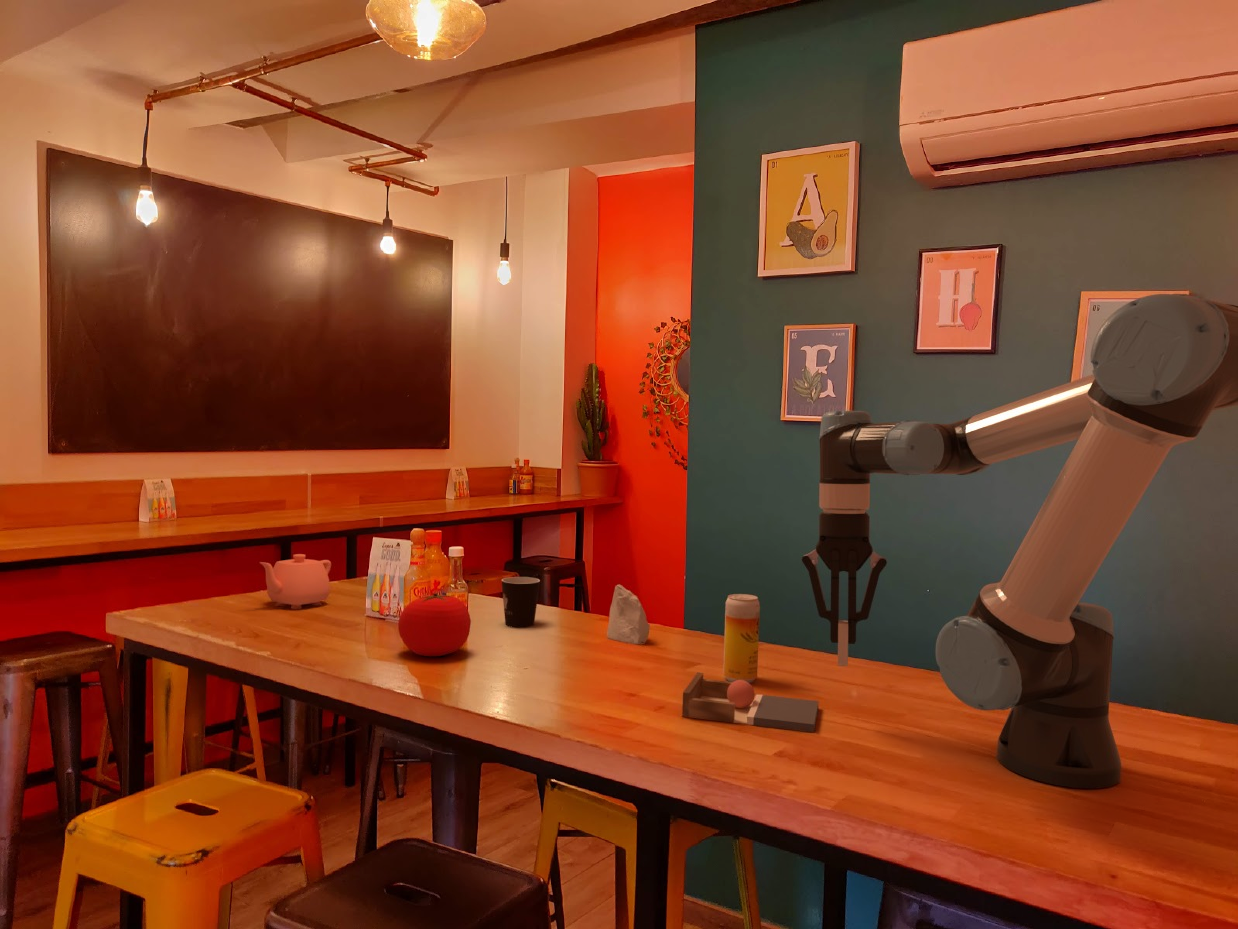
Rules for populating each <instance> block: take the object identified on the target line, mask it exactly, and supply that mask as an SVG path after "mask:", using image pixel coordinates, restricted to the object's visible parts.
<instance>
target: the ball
mask: <svg viewBox="0 0 1238 929" xmlns="http://www.w3.org/2000/svg"><path fill="white" fill-rule="evenodd" d="M755 697H756V695H755V689H754V687H753V686H752V684H750V683H748V682H746V681H744V680H737V681H734V682H733V683H731V684H730V686H729V687H728V690H727V698H728V700H729V702H733V703H735V707H737V708H746V707H748V706H749V705H751V703H752V702H753V700H754V699H755Z"/></svg>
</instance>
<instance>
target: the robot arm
mask: <svg viewBox="0 0 1238 929" xmlns="http://www.w3.org/2000/svg"><path fill="white" fill-rule="evenodd" d="M1090 363H1091V364H1092V374H1090V375H1087V376H1084V377H1081V378H1079V379H1075V380H1073V381H1069V382H1067V383H1064V384H1062V385H1058V386H1055V387H1052V388H1050V389H1047V390H1044V391H1041V392H1038V393H1036V394H1032V395H1029V396H1026V397H1024V398H1021V399H1018V400H1016V401H1013V402H1010V403H1006V404H1004V405H1001V406H998V407H995V408H993V409H990V410H987V411H984V412H981V413H979V414H976V415H973V416H970V417H967V418H964V419H962V420H958V421H956V422H952V423H931V422H928V421H919V420H903V421H894V422H893V421H892V422H880V423H879V422H878V423H873V422H871V414H870V413H869V412H867V411H864V410H831V411H827V412H825V413H823V415H821V420H820V427H819V428H820V430H819V437H818V442H819V491H818V492H819V494H818V495H819V500H818V502H819V505H818V506H819V508H820V509H822V512H820V514H818V515H819V516H818V517H819V519H818V520H819V522H818V541H817V543H816V545H815V549H814V550H812V551H811V552H809V553H806V554H803V556H802V558H801V561H802V564H803V565H804V567H805V568H806V569H807V571H808V575H809V579H810V584H811V587H812V592H813V596H814V602H815V604H816V608H817V613H818V616H819V617H820V618H821V619H823V618H824V619H826V620H828V621H829V624H830V629H829V630H830V632H829V633H830V634H829V635H830V642H831V643H833V644H837V667H849V645H855V644H856V641H857V624H858V622H861V621H863V620H864V621H865V620H867V619H869V615H870V612H871V608H872V604H873V601H874V597H875V594H876V589H877V587H878V586H877V585H878V581H879V578H880V574H881V573H882V571H883V569H884V568H885V567H886V566H887V563H888V562H887V559H886V558H885V557H884V556H880V555H879V554H878V553H876V552H875V551H873V550H874V549H873V546H872V544H871V542H870V522H871V521H870V515H869V513H867V510H869V509H870V505H871V504H870V502H871V501H870V500H871V493H870V492H871V491H870V489H871V484H870V482H871V474H887V475H903V476H910V475H911V476H919V475H933V474H935V475H958V476H965V475H971V474H977V473H980V472H983V471H984V470H986V469H987V468H988V467H989V466H991V465H992V464H995V463H999V462H1002V461H1006V460H1009V459H1012V458H1015V457H1019V456H1023V455H1026V454H1029V453H1034V452H1037V451H1041V450H1044V449H1047V448H1050V447H1051V448H1052V447H1054V446H1057V445H1061V444H1064V443H1069V442H1071V441H1075V440H1077V442H1076V444H1075V445H1074V447H1073V449H1072V451H1071V453H1070V454H1069V456H1068V458H1067V460H1066V462H1065V464H1064V465H1063V467H1062V469H1061V471H1060V473H1059V474H1058V476H1057V478H1056V479H1055V482H1054V484H1053V485H1052V487H1051V489H1050V491H1049V492H1048V494H1047V496H1046V497H1045V500H1044V501H1043V504H1042V506H1041V507H1040V509H1039V511H1038V513H1037V514H1036V517H1035V518H1034V519H1033V522H1032V524H1031V525H1030V527H1029V529H1028V531H1027V533H1026V535H1025V536H1024V538H1023V540H1022V542H1021V544H1020V545H1019V548H1017V551H1016V553H1015V554H1014V556H1013V558H1012V560H1011V562H1010V564H1009V566H1008V568H1007V569H1006V571H1005V573H1004V575H1003V577H1002V578H1001V580H1000V581H999V582H995V583H989V584H986V585H984V586H983V587H982V588H981V590H980V591H979V593H978V595H977V596H976V599H975V600H974V602H973V604H972V606H971V608H970V610H969V612H968V614H967V615H963V616H961V615H960V616H957V617H955V618H953V619H951V620H950V621H949V622H947V623H945V625H944V626H943V627H942V628H941V630H940V631H939V633H938V634H937V639H936V642H935V661H936V664H937V666H938V667H939V674H940V676H941V678H942V680H943V682H944V684H945V686H946V687H947V688H948V689H949V691H950V692H951V693H952V694H953V695H954V696H955V698H957V699H958V700H959V701H961V702H962V703H963V704H965V705H966V706H969V707H971V708H973V709H976V710H980V711H987V712H988V711H996V710H997V711H1006V710H1009V709H1010V710H1009V713H1008V716H1007V717H1006V721H1005V722H1004V724H1003V726H1002V729H1001V732H1000V734H999V736H998V739H997V746H996V759H997V761H998V762H999V763H1000V765H1002V766H1003V767H1005V768H1006V769H1008V770H1010V771H1011V772H1014V773H1016V774H1018V775H1020V776H1022V777H1025V778H1028V779H1030V780H1031V779H1032V780H1035V781H1038V782H1041V783H1046V784H1049V785H1053V786H1054V785H1055V786H1059V787H1067V788H1075V789H1103V788H1104V789H1105V788H1109V787H1112V786H1113V787H1114V786H1115V785H1117V784H1118V783H1120V781H1121V779H1122V778H1121V777H1122V776H1121V775H1122V760H1121V757H1120V754H1119V750H1118V747H1117V743H1116V741H1115V736H1114V733H1113V730H1112V726H1111V724H1110V723H1111V722H1110V718H1109V715H1110V714H1109V713H1110V712H1109V710H1110V699H1111V698H1110V696H1111V682H1112V681H1111V678H1112V665H1113V664H1112V663H1113V662H1112V661H1113V646H1114V639H1115V633H1114V619H1113V615H1112V613H1111V611H1110V610H1108V609H1107V608H1105V607H1104V606H1101V605H1097V604H1093V603H1089V602H1088V603H1087V602H1082V601H1080V600H1081V599H1082V597H1083V595H1084V593H1085V592H1086V590H1087V589H1088V587H1089V585H1090V583H1091V582H1092V580H1093V579H1094V577H1095V575H1096V574H1097V572H1098V570H1099V569H1100V567H1101V565H1102V563H1103V562H1104V560H1105V559H1106V557H1107V556H1108V553H1109V552H1110V551H1111V549H1112V547H1113V545H1114V543H1115V542H1116V540H1118V537H1119V535H1120V534H1121V532H1122V530H1123V528H1124V527H1125V526H1126V523H1127V522H1128V520H1129V519H1130V518H1131V515H1132V514H1133V512H1134V510H1135V509H1136V507H1137V505H1138V503H1139V502H1140V500H1141V499H1142V497H1143V495H1144V493H1145V492H1146V490H1147V489H1148V487H1149V485H1150V484H1151V482H1152V481H1153V479H1154V477H1155V475H1156V473H1157V472H1158V470H1159V469H1160V467H1161V465H1162V464H1163V462H1164V460H1165V459H1166V457H1167V455H1168V453H1169V452H1170V450H1171V449H1172V447H1174V446H1176V445H1179V444H1182V443H1186V442H1189V441H1193V440H1195V439H1196V438H1197V436H1198V435H1199V433H1200V432H1201V430H1202V428H1203V426H1204V425H1205V423H1206V421H1207V420H1208V418H1209V416H1210V415H1211V413H1212V412H1213V411H1215V410H1221V409H1226V408H1227V409H1228V408H1232V407H1235V406H1238V305H1234V304H1228V303H1223V302H1218V301H1214V300H1209V299H1206V298H1202V297H1200V296H1199V297H1198V296H1194V295H1189V294H1188V293H1155V294H1151V295H1150V294H1149V295H1145V296H1142V297H1138V298H1136V299H1134V300H1132V301H1129V302H1128V303H1126V304H1124V305H1122V306H1121V307H1119V308H1118V309H1116V311H1114V312H1113V313H1112V314H1111V315H1109V317H1107V319H1105V321H1104V323H1102V325H1101V326H1100V327H1099V329H1098V331H1097V333H1096V335H1095V337H1094V339H1093V342H1092V344H1091V350H1090ZM818 557H820V559H821V561H823V564H825V567H827V569H828V570H830V610H829V609H827V604H826V600H825V597H824V593H823V589H822V584H821V580H820V575H819V572H818V568H817V565H818V563H819V560H818ZM869 559H870V561H869V565H870V567H871V571H870V573H869V578H868V582H867V584H866V587H865V588H866V589H865V592H864V595H863V596H864V597H863V600H862V604H861V608H860V610H859V611H857V572H859V570H860V569H862V567H863V566H864V564H865V563H866V562H867V561H868V560H869ZM841 572H845V573H847V576H848V578H847V579H848V580H847V581H848V582H847V620H839V619H840V573H841Z"/></svg>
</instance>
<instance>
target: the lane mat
mask: <svg viewBox="0 0 1238 929" xmlns="http://www.w3.org/2000/svg"><path fill="white" fill-rule="evenodd" d="M700 699H707V700H715V701H724V702H729V700H728V699H724V698H715V697H707V696H701V698H700ZM818 712H819V700H814V699H813V700H812V699H804V698H803V699H801V698H793V697H783V696H776V695H767V694H757V693H756V695H755V696H754V700H753V702H752V703H751V705H749V706H748V707H746V708H737V707H735V719H734V723H733V724H741V725H742V724H743V725H749V726H759V727H769V728H775V729H784V730H793V731H800V732H807V733H815V728H816V723H817V722H816V721H817V716H818Z"/></svg>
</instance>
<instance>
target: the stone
mask: <svg viewBox="0 0 1238 929" xmlns="http://www.w3.org/2000/svg"><path fill="white" fill-rule="evenodd" d="M608 619H609V620H608V626H607V631H606V638H607V639H608V640H609V639H610V640H614V641H617V642H621V643H626V644H629V645H631V644H632V645H638V646H639V645H640V646H641V645H644V644H645V643H646V642H647V639H648V638H649V633H650V627H651V625H650V623H649V622H648V621H647V615H646V612H645V610H644V607H643V606H642V604H641V601H640V600H639V598H638V596H637V595H635V594H634V593H633V592H631V590H628V589H626V588H625V587H624V586H623V585H621V584H617V585H615V587H614V592H613V596H612V601H611V604H610V608H609V618H608Z"/></svg>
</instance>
